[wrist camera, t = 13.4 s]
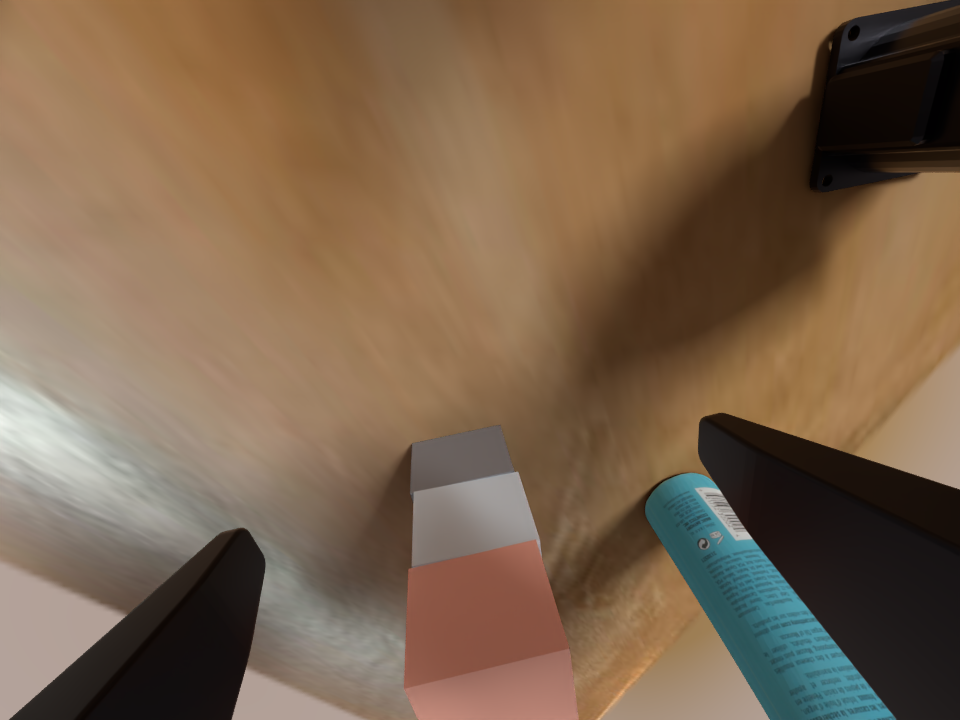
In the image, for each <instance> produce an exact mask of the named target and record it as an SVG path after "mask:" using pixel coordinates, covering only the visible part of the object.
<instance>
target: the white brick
mask: <svg viewBox="0 0 960 720" xmlns="http://www.w3.org/2000/svg"><path fill="white" fill-rule="evenodd" d="M531 540H536V541H537V544H538V548H539V551H540V554H541V546H540V539H539V535H538V532H537V529H536V526H535V523H534V520H533V517H532V513H531V510H530V507H529V504H528V501H527V498H526V495H525V491H524V488H523V485H522V482H521V479H520V476H519V473H518V472H514V473H508V474H503V475H498V476H493V477H488V478H483V479H478V480H472V481H467V482H462V483H457V484H452V485H447V486H442V487H436V488H431V489H426V490H421V491H416V492H414V503H413V537H412V568H415V567H419V566H424V565H428V564H432V563H437V562H441V561H445V560H450V559H454V558H458V557H463V556H467V555H471V554H476V553H480V552H484V551H489V550H492V549H497V548H501V547H505V546H510V545H514V544H518V543H523V542H527V541H531ZM541 557H542V556H541Z"/></svg>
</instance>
